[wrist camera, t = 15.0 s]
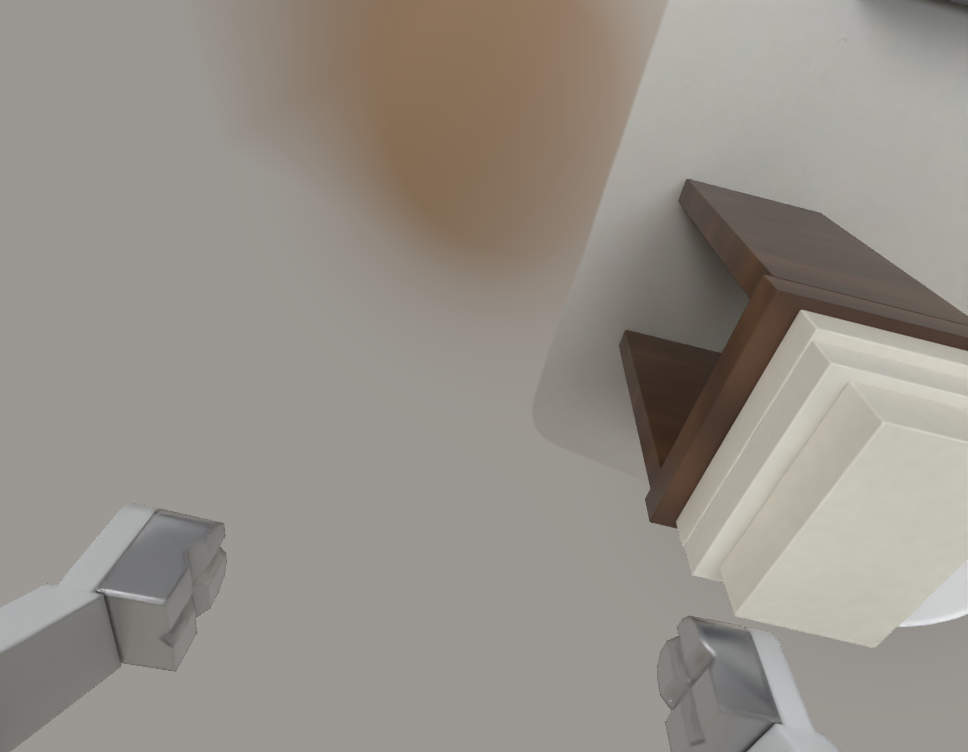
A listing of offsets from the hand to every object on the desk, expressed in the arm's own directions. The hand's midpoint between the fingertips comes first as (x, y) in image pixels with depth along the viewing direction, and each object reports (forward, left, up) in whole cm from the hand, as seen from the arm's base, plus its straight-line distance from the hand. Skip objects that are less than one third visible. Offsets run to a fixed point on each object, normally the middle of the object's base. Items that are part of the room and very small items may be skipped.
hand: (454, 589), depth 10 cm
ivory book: (+14, +10, -13) cm, 21 cm away
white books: (+14, +10, -16) cm, 24 cm away
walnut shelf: (+14, +10, -36) cm, 40 cm away
